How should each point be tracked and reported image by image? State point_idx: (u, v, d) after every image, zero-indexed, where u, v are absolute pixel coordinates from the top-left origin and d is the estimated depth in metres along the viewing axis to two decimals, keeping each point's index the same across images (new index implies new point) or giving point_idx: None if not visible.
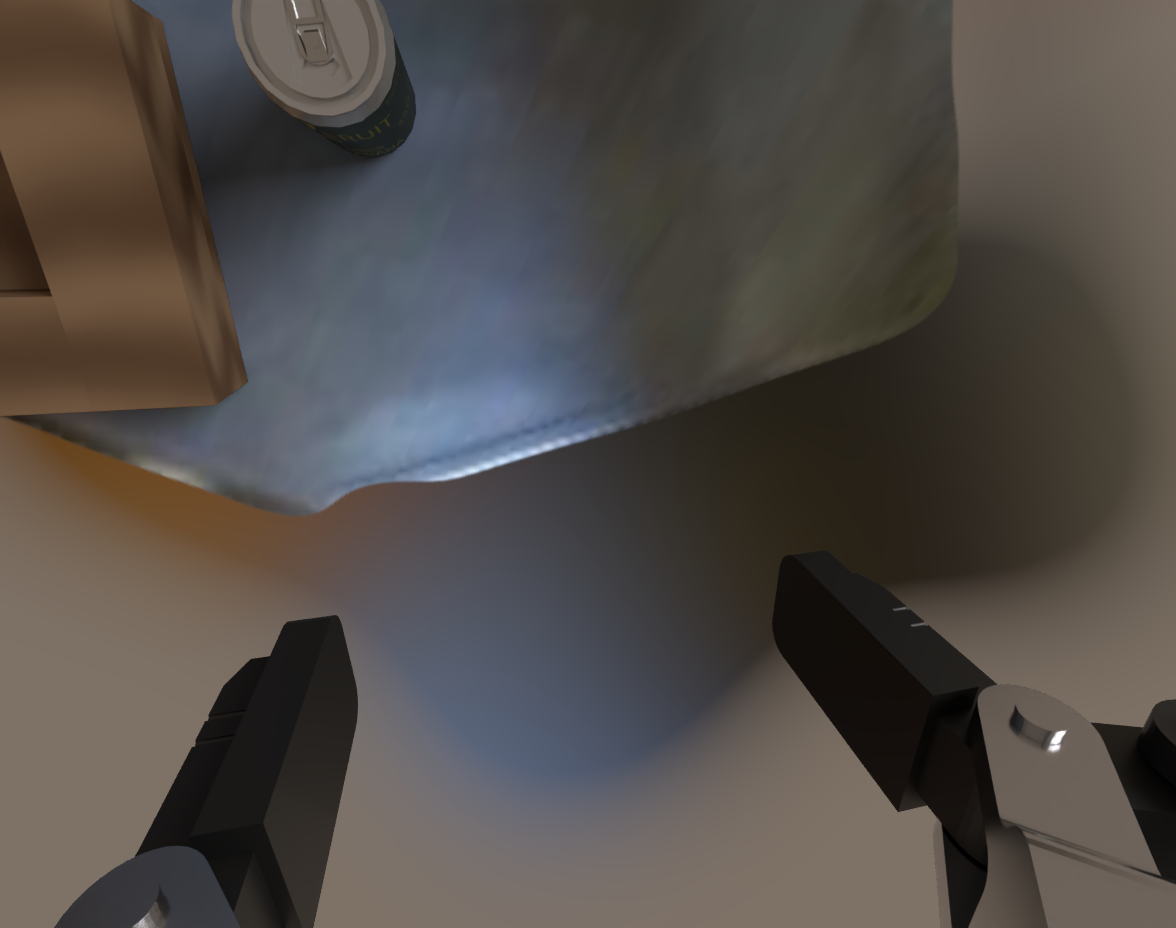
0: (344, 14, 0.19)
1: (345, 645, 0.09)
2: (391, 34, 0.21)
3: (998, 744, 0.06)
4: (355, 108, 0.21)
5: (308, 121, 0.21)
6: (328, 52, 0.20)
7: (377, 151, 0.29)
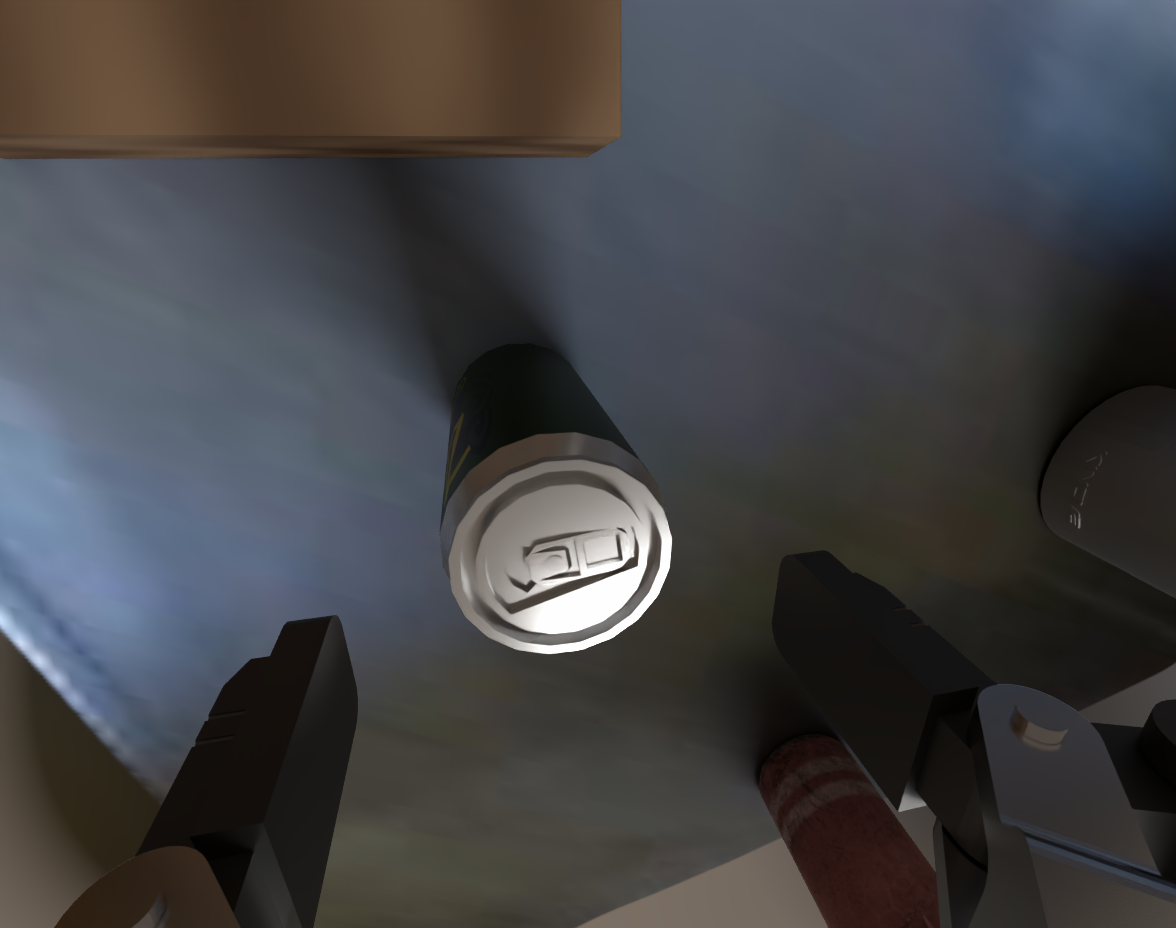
0: (592, 603, 0.13)
1: (345, 645, 0.09)
2: None
3: (998, 744, 0.06)
4: (468, 617, 0.12)
5: (443, 524, 0.12)
6: (541, 581, 0.12)
7: None
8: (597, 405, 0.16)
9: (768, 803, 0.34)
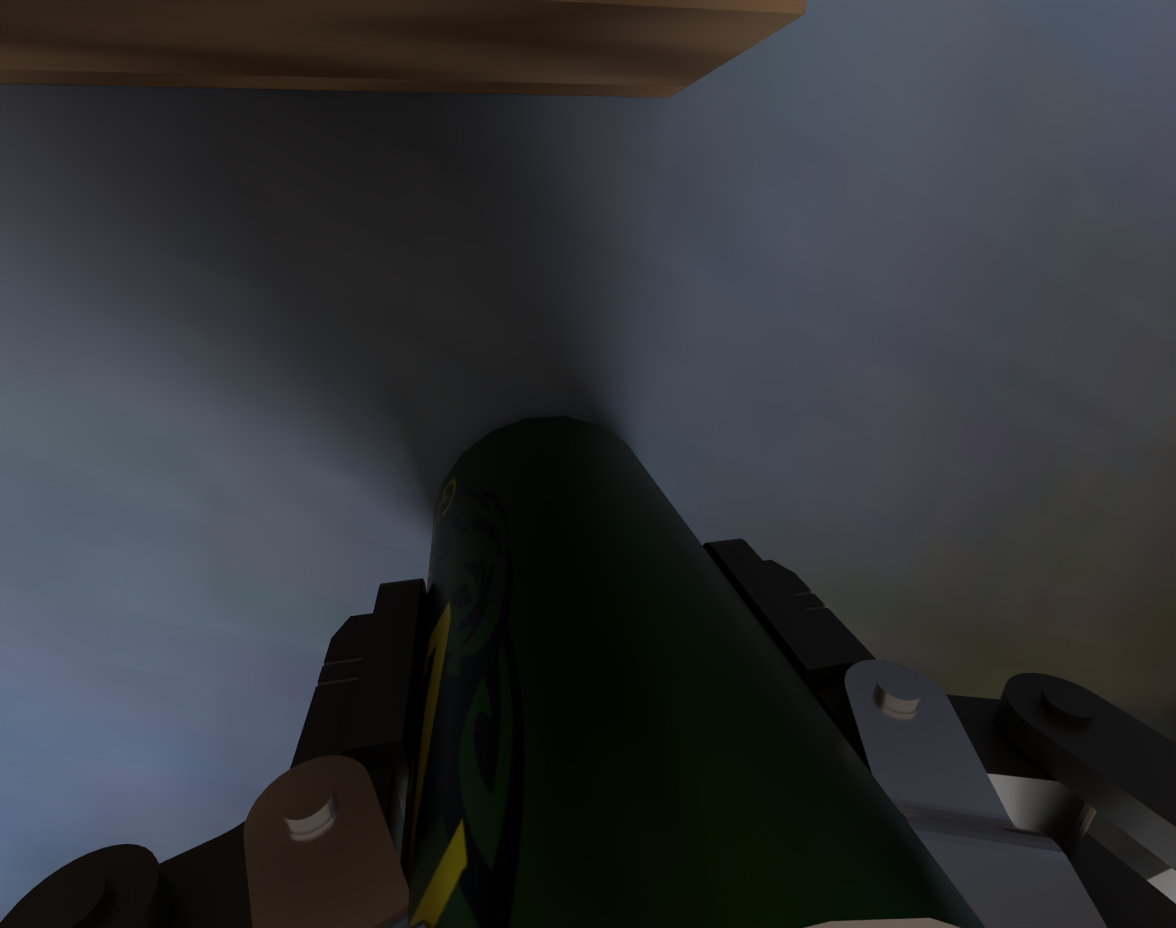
0: None
1: None
2: None
3: (868, 723, 0.07)
4: None
5: None
6: None
7: None
8: (738, 601, 0.08)
9: None
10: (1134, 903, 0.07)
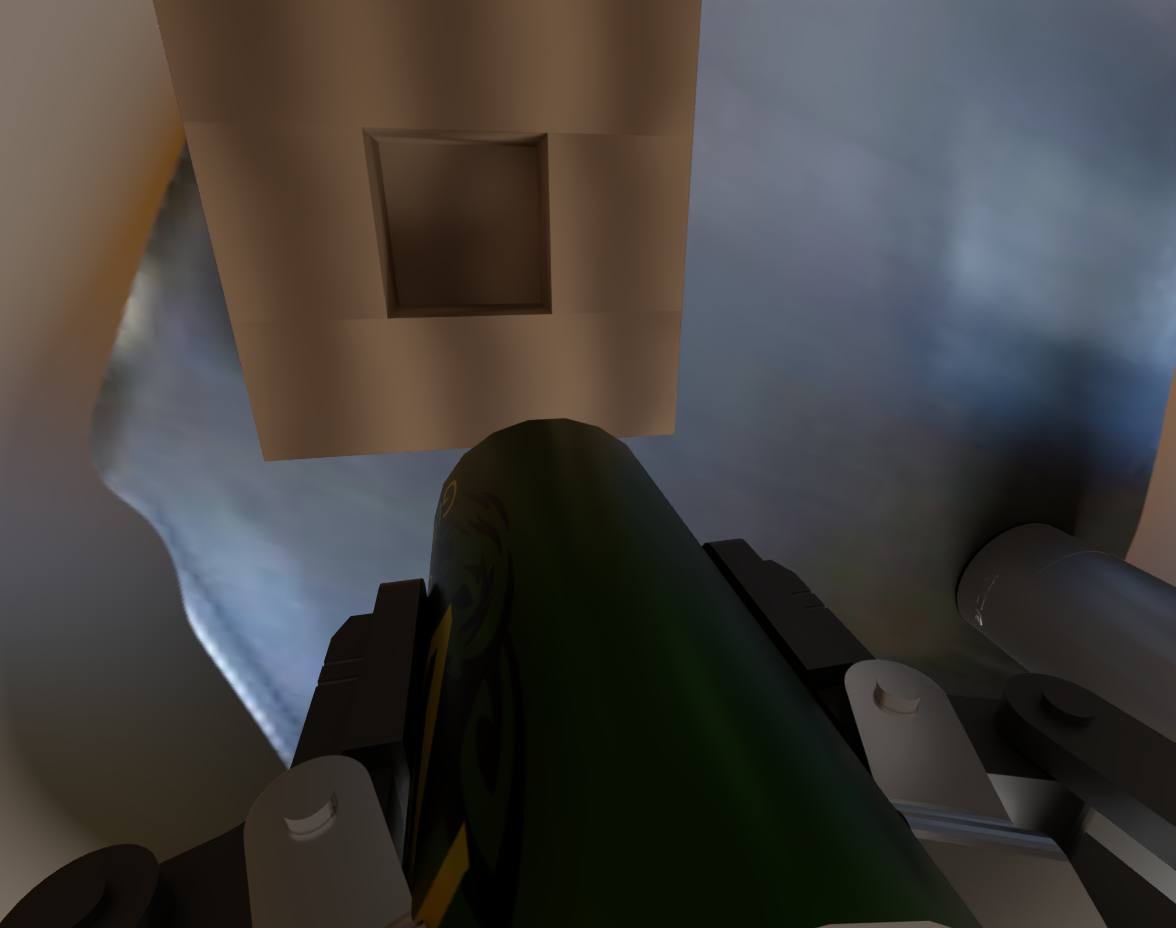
0: None
1: None
2: None
3: (868, 723, 0.07)
4: None
5: None
6: None
7: None
8: (738, 603, 0.08)
9: None
10: (1134, 903, 0.07)
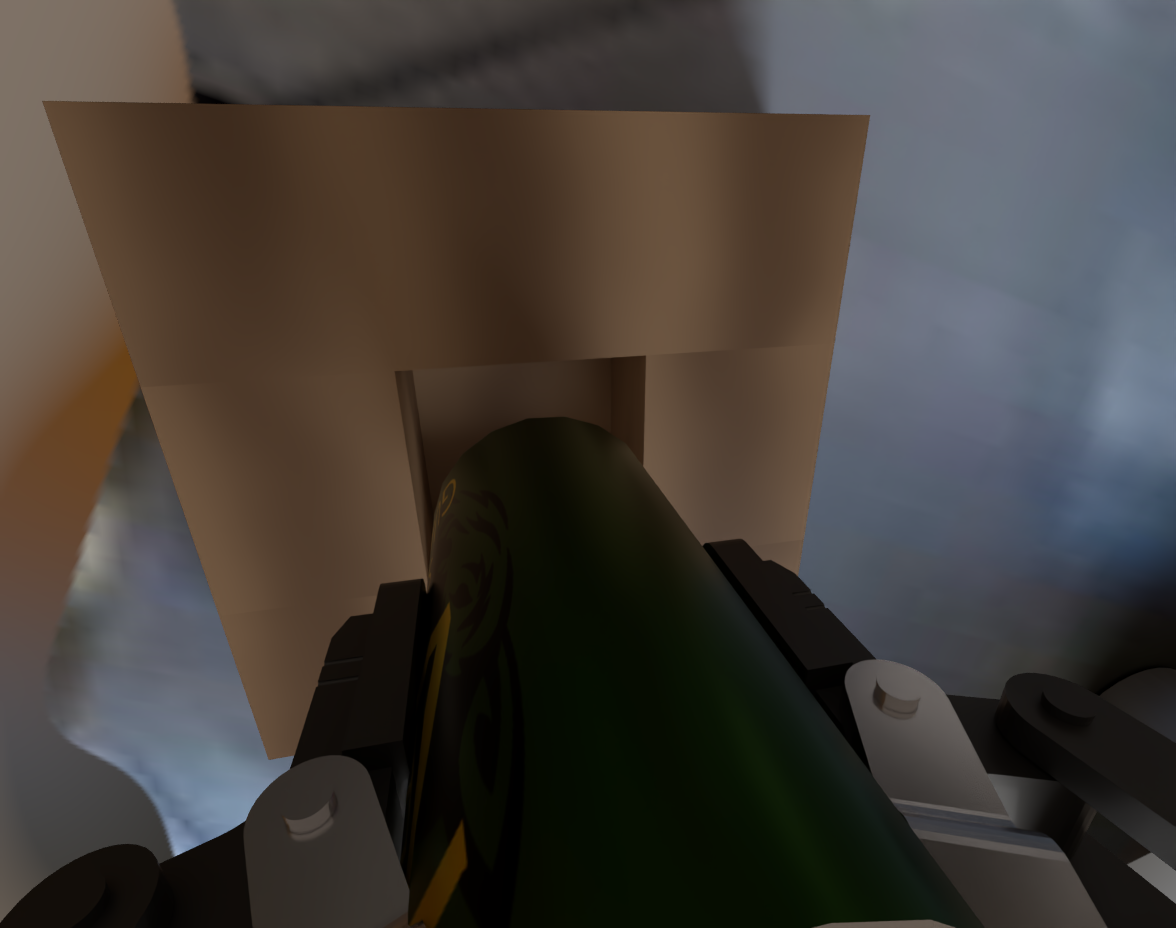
0: None
1: None
2: None
3: (868, 723, 0.07)
4: None
5: None
6: None
7: None
8: (738, 601, 0.08)
9: None
10: (1134, 903, 0.07)
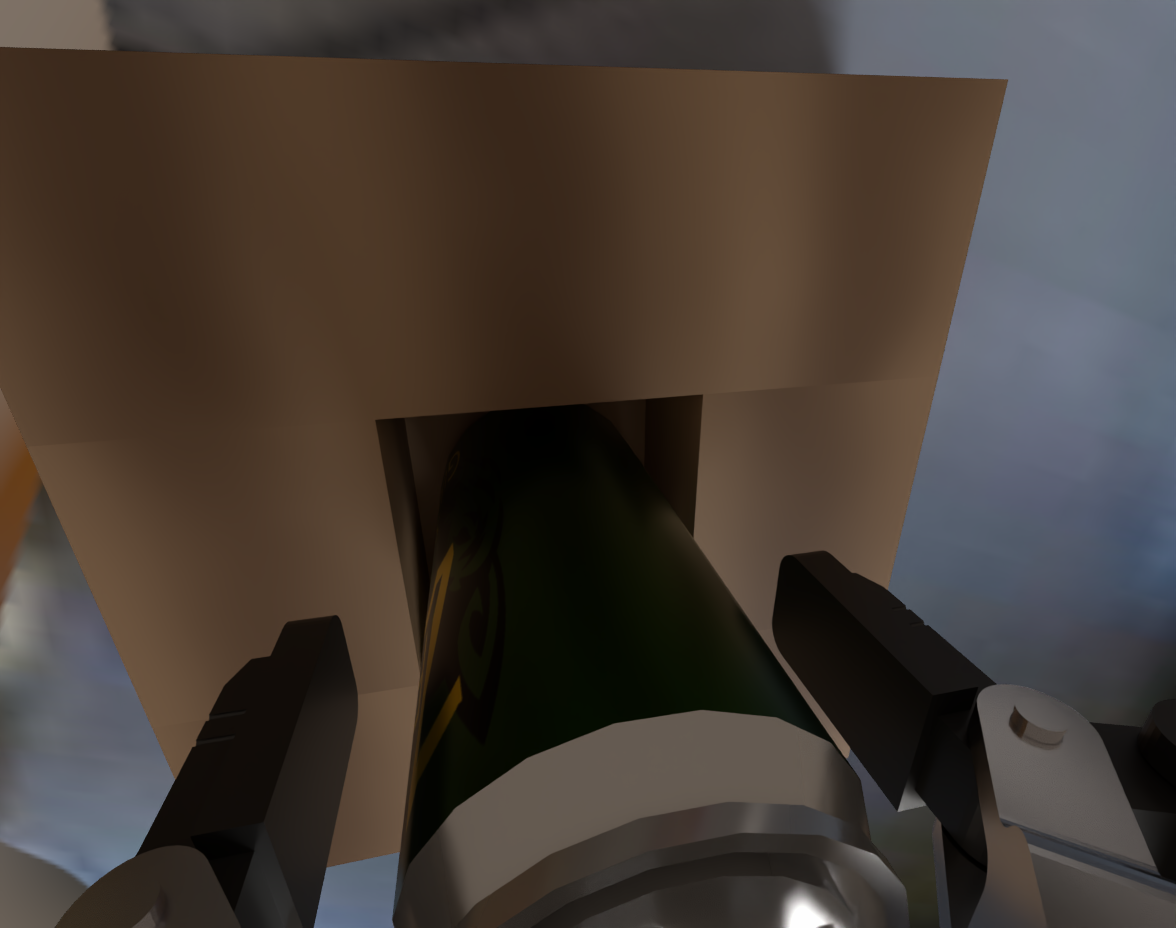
0: None
1: (345, 645, 0.09)
2: None
3: (997, 744, 0.06)
4: None
5: (400, 906, 0.05)
6: None
7: None
8: (686, 539, 0.09)
9: None
10: None
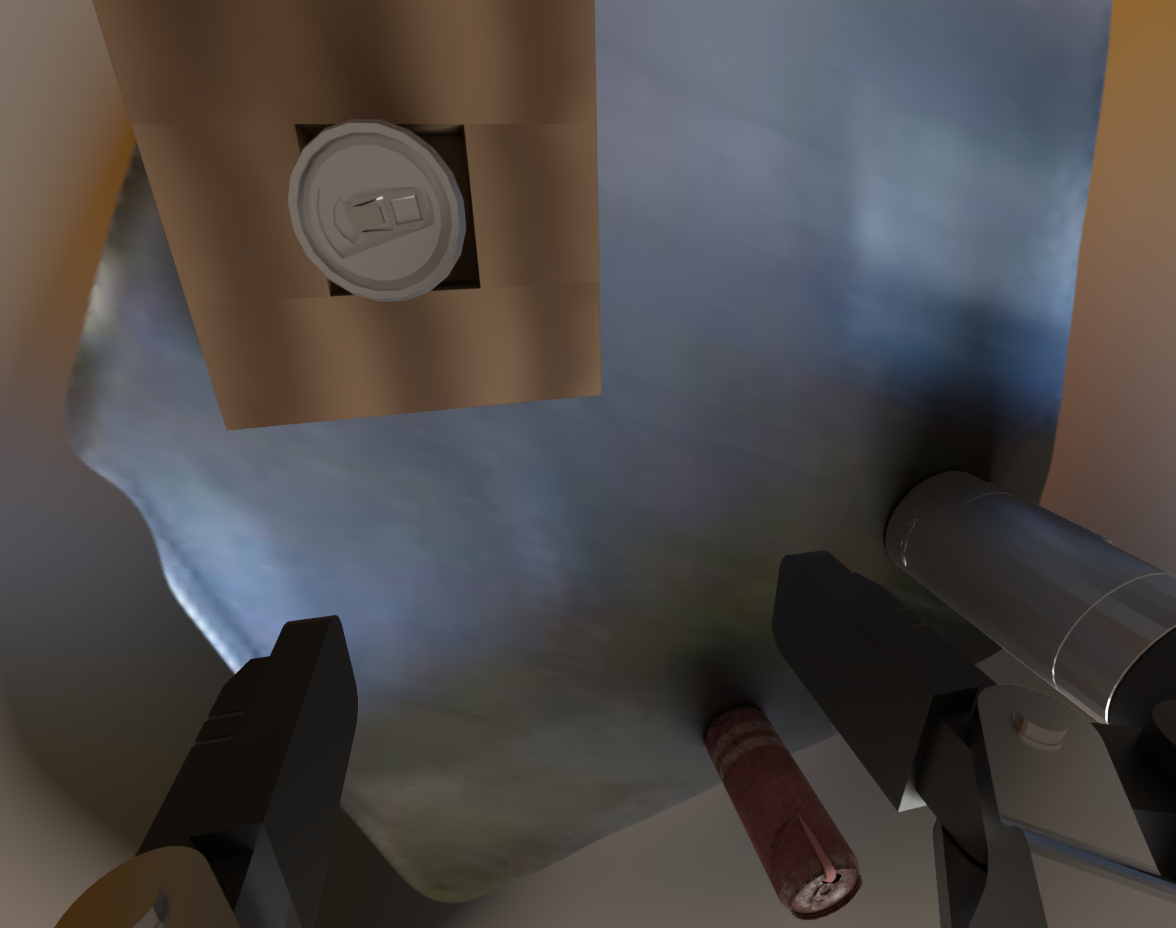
0: (404, 255, 0.18)
1: (345, 645, 0.09)
2: (405, 299, 0.19)
3: (998, 744, 0.06)
4: (310, 258, 0.17)
5: None
6: (363, 232, 0.17)
7: None
8: None
9: (711, 754, 0.49)
10: None
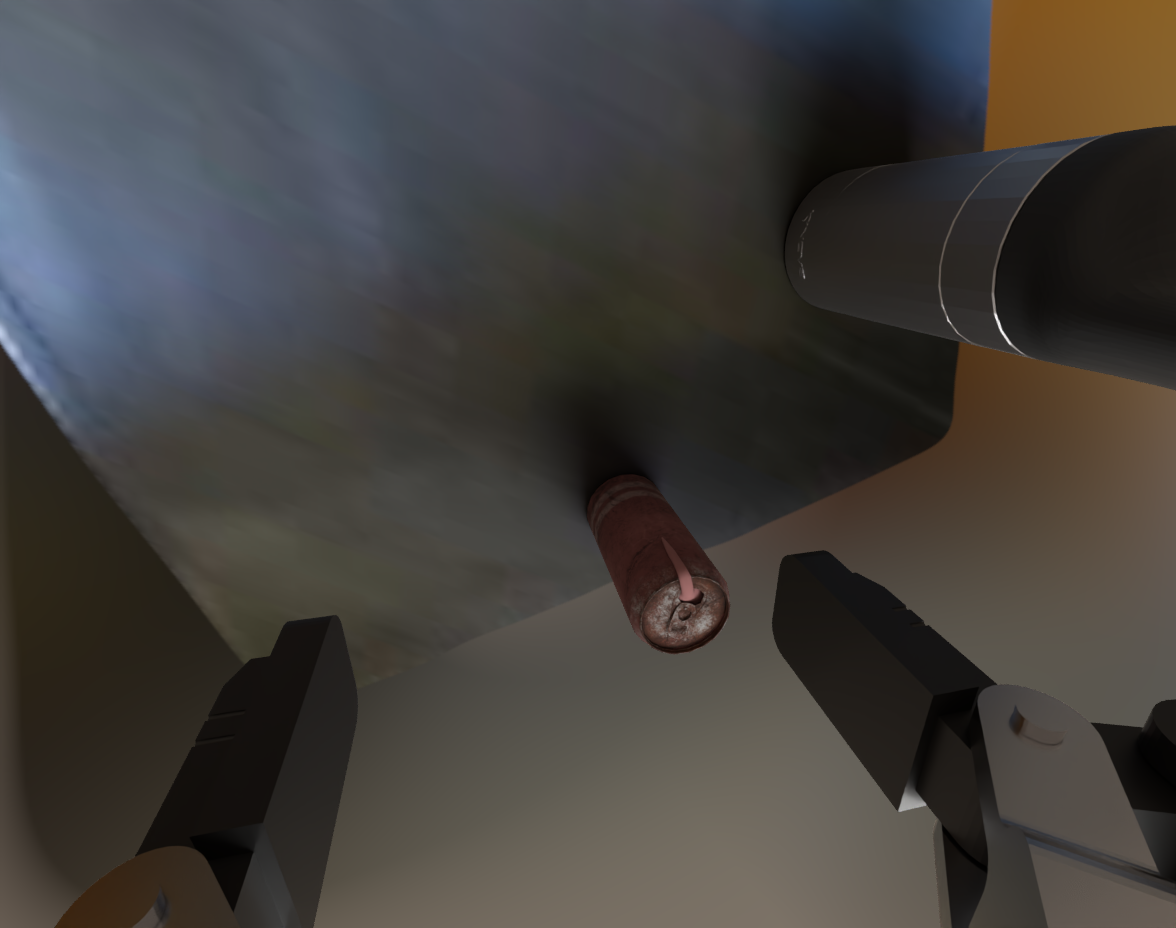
0: None
1: (345, 645, 0.09)
2: None
3: (998, 744, 0.06)
4: None
5: None
6: None
7: None
8: None
9: (590, 524, 0.42)
10: None
